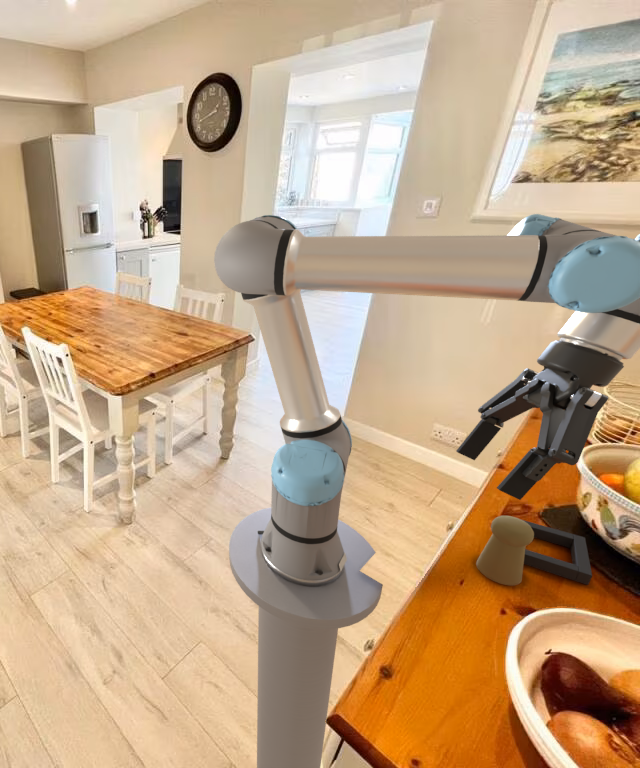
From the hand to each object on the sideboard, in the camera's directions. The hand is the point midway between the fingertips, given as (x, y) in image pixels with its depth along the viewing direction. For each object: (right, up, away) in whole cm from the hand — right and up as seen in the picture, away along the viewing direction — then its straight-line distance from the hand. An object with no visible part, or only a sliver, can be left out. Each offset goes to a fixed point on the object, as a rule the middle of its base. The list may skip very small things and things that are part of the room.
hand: (484, 473), depth 62 cm
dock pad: (+21, -17, +11) cm, 29 cm away
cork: (+10, -19, +9) cm, 24 cm away
